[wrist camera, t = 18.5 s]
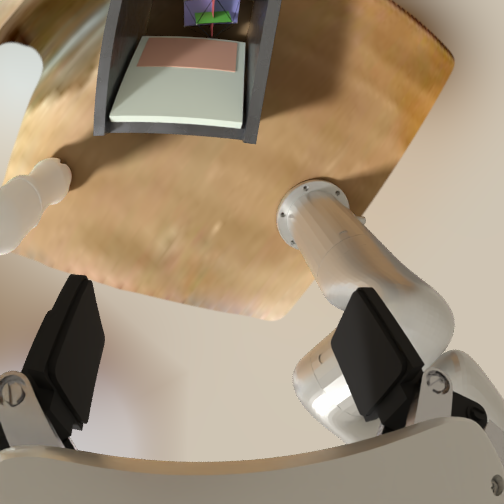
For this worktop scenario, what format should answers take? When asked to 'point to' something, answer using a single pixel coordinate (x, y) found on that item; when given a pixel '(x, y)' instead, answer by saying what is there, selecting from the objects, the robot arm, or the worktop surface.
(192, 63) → the trapdoor
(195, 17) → the geometric puzzle
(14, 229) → the water bottle
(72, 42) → the worktop surface
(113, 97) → the bin
